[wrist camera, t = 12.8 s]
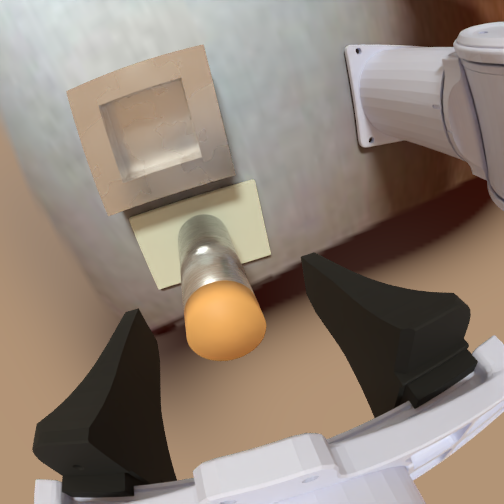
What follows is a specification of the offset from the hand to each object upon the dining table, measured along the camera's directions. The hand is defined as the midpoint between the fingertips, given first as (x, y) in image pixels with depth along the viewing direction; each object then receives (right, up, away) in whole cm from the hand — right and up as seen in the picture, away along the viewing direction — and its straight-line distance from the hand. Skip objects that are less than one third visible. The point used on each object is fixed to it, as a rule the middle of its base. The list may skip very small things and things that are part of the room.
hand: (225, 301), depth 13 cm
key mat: (-2, +3, +10) cm, 11 cm away
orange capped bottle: (-2, +3, +9) cm, 10 cm away
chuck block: (-5, +10, +5) cm, 13 cm away
